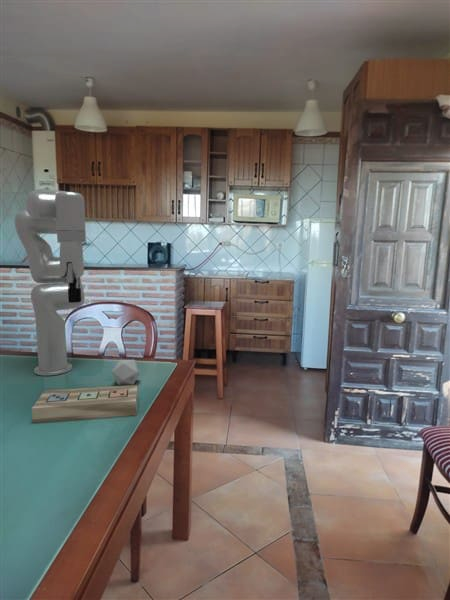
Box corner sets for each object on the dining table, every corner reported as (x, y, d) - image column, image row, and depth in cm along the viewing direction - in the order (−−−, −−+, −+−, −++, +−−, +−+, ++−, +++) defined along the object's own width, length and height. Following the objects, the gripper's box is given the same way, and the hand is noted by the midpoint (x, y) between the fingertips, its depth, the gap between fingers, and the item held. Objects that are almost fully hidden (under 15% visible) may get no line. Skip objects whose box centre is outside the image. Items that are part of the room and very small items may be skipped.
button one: (82, 402, 108) (81, 392, 108) (98, 401, 109) (97, 391, 108) (79, 409, 104) (78, 398, 103) (96, 408, 105) (95, 397, 104)
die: (125, 392, 121) (143, 365, 123) (103, 377, 122) (120, 351, 124) (131, 391, 129) (147, 367, 131) (110, 378, 130) (126, 353, 132)
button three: (52, 405, 107) (51, 394, 106) (68, 403, 107) (68, 393, 107) (47, 411, 102) (47, 400, 102) (65, 410, 103) (64, 399, 103)
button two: (111, 401, 110) (111, 390, 109) (127, 399, 110) (127, 389, 110) (109, 407, 105) (109, 396, 105) (126, 406, 106) (126, 395, 106)
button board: (45, 404, 110) (44, 390, 109) (137, 397, 115) (137, 385, 114) (32, 423, 98) (31, 408, 98) (136, 415, 103) (135, 401, 103)
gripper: (63, 237, 114) (66, 298, 117) (50, 237, 100) (54, 306, 102) (89, 238, 116) (92, 298, 118) (80, 237, 101) (84, 305, 104)
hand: (75, 301), depth 110 cm, fingers closed
